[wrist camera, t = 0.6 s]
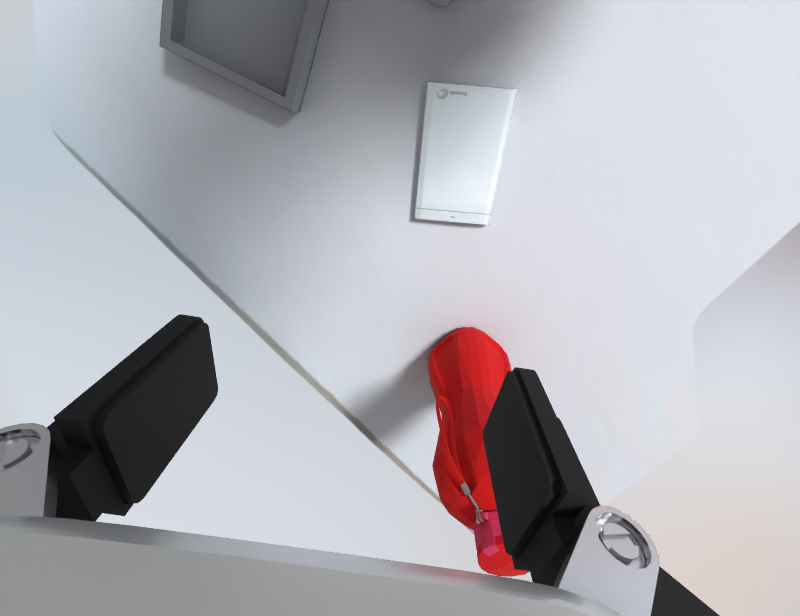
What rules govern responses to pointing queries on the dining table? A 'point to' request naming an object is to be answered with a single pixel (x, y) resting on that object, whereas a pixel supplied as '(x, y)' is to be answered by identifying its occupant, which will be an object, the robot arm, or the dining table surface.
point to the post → (440, 2)
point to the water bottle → (469, 437)
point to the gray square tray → (248, 42)
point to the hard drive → (462, 151)
